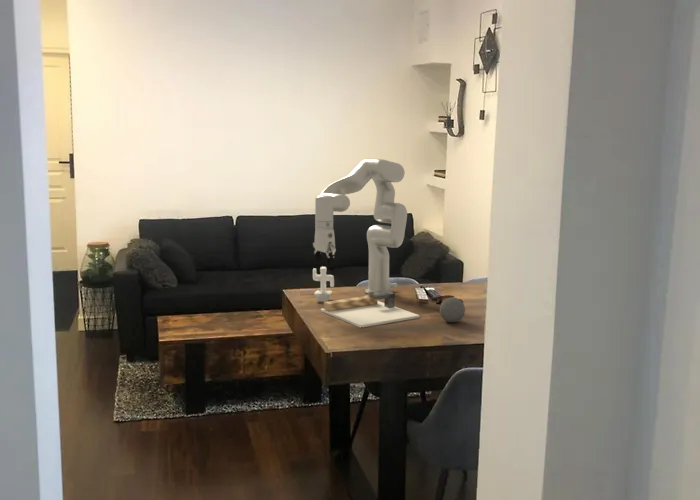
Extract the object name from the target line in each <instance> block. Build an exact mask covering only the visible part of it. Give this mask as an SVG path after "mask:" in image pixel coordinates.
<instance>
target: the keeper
mask: <svg viewBox="0 0 700 500" xmlns="http://www.w3.org/2000/svg"><path fill="white" fill-rule="evenodd" d="M373 298H374V299H377V300H378V301H380V300H384V302H383V303H384V307H387V308H391V307H395V293H394V292H393V291H392V292H386V293H382V294H375V295H373Z"/></svg>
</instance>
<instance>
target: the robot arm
mask: <svg viewBox="0 0 700 500" xmlns="http://www.w3.org/2000/svg"><path fill="white" fill-rule="evenodd" d="M405 172H406V171H405V168H404V166H403V165H401V164H400V163H397V162H394V161H390V160H387V159H381V158H365V159H362V160H361V161H360V162H359V163H358V164H357V165H356V166H355V167H354V168H353V169H352V170H351V172H350V173H349V174H348V175H347V176H344V177H342V178H340V179H338V180H336V181H334V182H332V183H330V184H329V185H327V186H326V187H325V188H324V189H323V190H322V191H321V193H320V194H319V195H317V196H315V203H314V205H315V207H314V208H315V209H314V210H315V212H314V214H315V215H314V219H315V220H314V223H315V224H314V225H315V226H314V229H315V231H314V242H312V247H313V254H314V264H316V265H317V264H322V261H323V259H322V258H323V254H322V253H325V254H326V259H325V262H326V264H325V265H326V266H325V267H326V268H334V266H335V265H334V264H335V263H334V259H335V255H336V251H337V249H336V238H335V237H336V236H335V230H334V212H337V213H338V212H339V213H342V212H346V211H347V210H348V209H349V208H350V205H351V200H350V198H349V197H348V196H347V195H350V194H354V193H358V192H360V191H361V190H362V189H363V188H364V187H365V186H366V185H367V184H368V183H369V182H370V180H372V181H373V183H374V185H375V189H376V193H375V194H376V195H375V196H376V197H375V203H374V208H373V218H374V220H375V221H377V222H378V223H383V224H384V223H385V224H391V226H390V225H382V224H373V225H372V226H369V228H368V229H367V231H366V241H367V245H368V281H367V282H368V286H367V288H365V290H364V293H366V295H368V291H374V295H375V294H382V293H386V292H392V293H393V290H392V288H397V287H398V283H397V282H390V252H389V250H388V248H393V249H394V248H396V249H397V248H399V247H400V246H401V245H402V244H403V242H404V238H405V233H406V232H405V231H406V228H407V226H406V225H407V219H408V210H407V208H406V206H405V205H404V204H403V203H400V202H395V196H396V190H395V187H394V185H393V183H401V181H403V179H404V177H405Z"/></svg>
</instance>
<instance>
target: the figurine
mask: <svg viewBox="0 0 700 500" xmlns="http://www.w3.org/2000/svg"><path fill="white" fill-rule="evenodd" d="M327 268H328V267H326V266H320V268H319V272H320V274H318V273H317V268H314V267H313V269H312V280H313V281H314V282H315V281H316V282H320V289H319V290H315V292H314V294H313V295H314V297H315V298H316V301H317V302H323V303H324V302H328V301H329V300H330V298H331V294H332V293H333V290H327V282H329V286H330V288H334V287H335V278H334V277H335V276H334V275H332V274H327V270H328V269H327Z"/></svg>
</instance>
